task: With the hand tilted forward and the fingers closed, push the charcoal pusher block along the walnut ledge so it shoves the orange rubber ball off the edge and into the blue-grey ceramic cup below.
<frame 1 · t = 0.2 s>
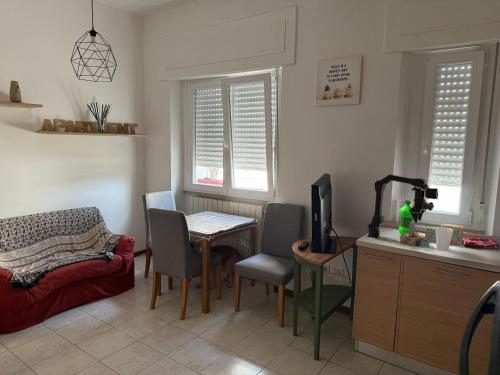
hand: (417, 221, 222), 15 cm above the worktop, tool pointing down, fingers open, 9 cm apart
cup: (424, 245, 221), on the worktop
ball: (416, 234, 224), point 6 cm above the worktop, touching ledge
pusher: (411, 228, 225), point 10 cm above the worktop, slide at 0.0 cm
plastic bottle: (405, 235, 246), on the worktop
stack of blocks: (442, 242, 230), on the worktop
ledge: (373, 236, 242), on the worktop
foam cup: (442, 249, 215), on the worktop
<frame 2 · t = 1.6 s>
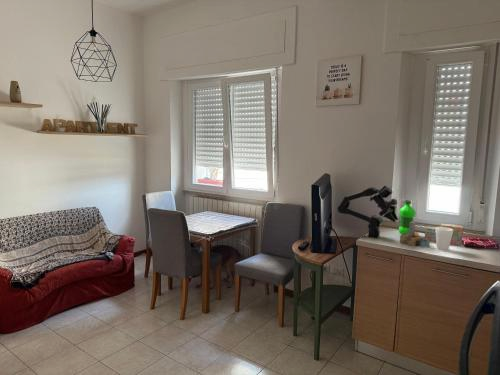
hand: (396, 220, 231), 14 cm above the worktop, tool tilted 45°, fingers open, 6 cm apart
nothing on the worktop moved.
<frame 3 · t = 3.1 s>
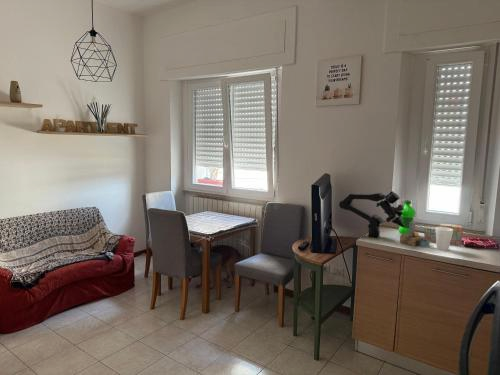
hand: (403, 226, 228), 10 cm above the worktop, tool tilted 45°, fingers closed
nothing on the worktop moved.
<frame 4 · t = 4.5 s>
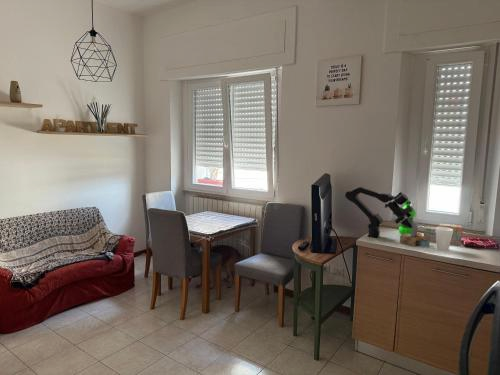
hand: (412, 228, 225), 10 cm above the worktop, tool tilted 45°, fingers closed, pressing on pusher
ball: (419, 234, 223), point 6 cm above the worktop, tilted 66°, touching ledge
pusher: (414, 229, 224), point 10 cm above the worktop, slide at 1.7 cm, touching gripper
everything else where it was.
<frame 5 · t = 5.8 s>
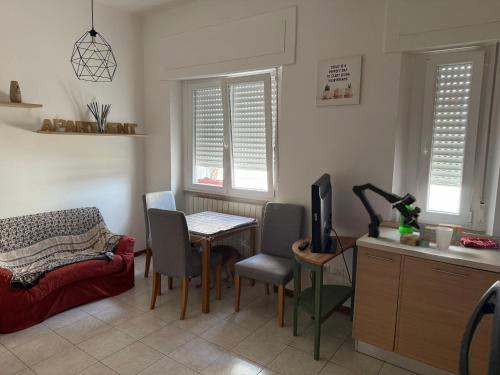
hand: (420, 229, 222), 10 cm above the worktop, tool tilted 45°, fingers closed, pressing on pusher
ball: (425, 243, 221), point 2 cm above the worktop, tilted 168°, touching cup
pusher: (422, 230, 221), point 10 cm above the worktop, slide at 6.4 cm, touching gripper
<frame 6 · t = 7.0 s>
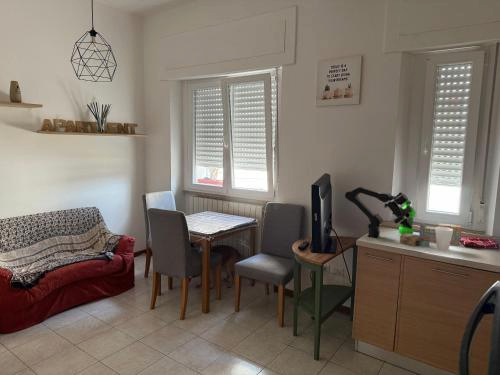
hand: (411, 228, 225), 10 cm above the worktop, tool tilted 45°, fingers closed
pusher: (422, 230, 221), point 10 cm above the worktop, slide at 6.4 cm
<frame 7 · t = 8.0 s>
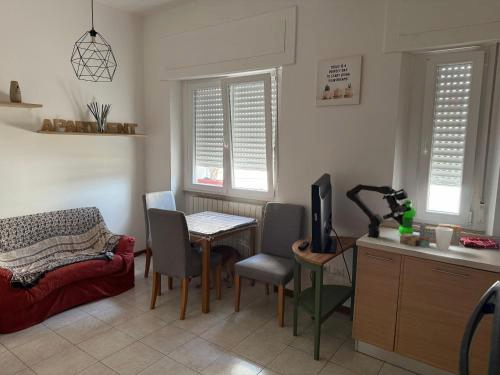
hand: (402, 225, 229), 11 cm above the worktop, tool tilted 25°, fingers closed
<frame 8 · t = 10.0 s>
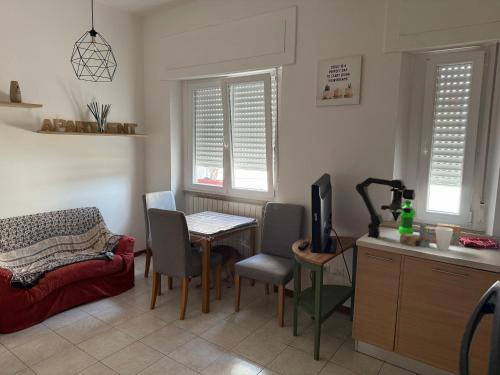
hand: (395, 221, 231), 13 cm above the worktop, tool pointing down, fingers closed
ball: (422, 242, 222), point 2 cm above the worktop, tilted 142°, touching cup
at the end: ball 0.8 cm off-centre on the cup, point 1.9 cm above the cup's base; pusher slide at 6.4 cm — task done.
